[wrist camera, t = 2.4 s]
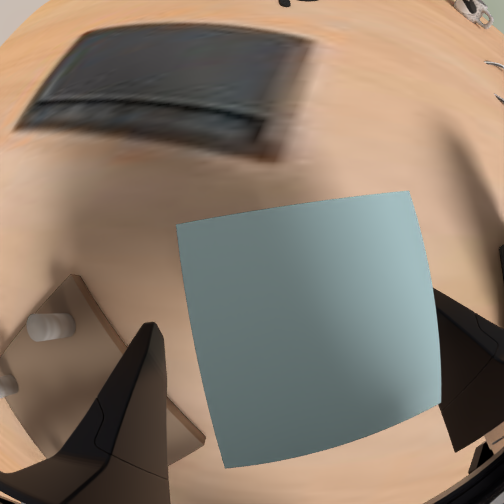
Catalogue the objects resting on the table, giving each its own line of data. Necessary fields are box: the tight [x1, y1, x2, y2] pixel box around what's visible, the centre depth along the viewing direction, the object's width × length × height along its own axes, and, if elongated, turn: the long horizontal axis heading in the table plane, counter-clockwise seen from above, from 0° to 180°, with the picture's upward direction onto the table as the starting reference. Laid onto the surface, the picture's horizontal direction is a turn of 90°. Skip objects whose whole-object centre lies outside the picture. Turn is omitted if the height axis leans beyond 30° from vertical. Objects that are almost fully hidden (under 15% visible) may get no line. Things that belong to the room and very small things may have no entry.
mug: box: [453, 0, 494, 29], centre depth 25 cm, size 10×7×7 cm, turn 24°
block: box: [176, 191, 441, 468], centre depth 11 cm, size 4×4×13 cm
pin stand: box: [0, 274, 206, 466], centre depth 13 cm, size 14×14×5 cm
